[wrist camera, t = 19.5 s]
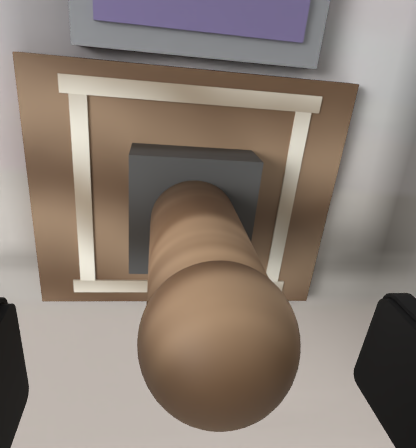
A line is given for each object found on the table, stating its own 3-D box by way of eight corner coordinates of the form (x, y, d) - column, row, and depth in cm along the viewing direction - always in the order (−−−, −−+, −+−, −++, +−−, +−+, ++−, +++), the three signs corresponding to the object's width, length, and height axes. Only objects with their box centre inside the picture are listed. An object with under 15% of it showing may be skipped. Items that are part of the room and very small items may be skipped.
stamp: (132, 142, 18) (86, 298, 6) (251, 150, 19) (397, 298, 7) (131, 250, 20) (98, 502, 9) (237, 252, 21) (329, 482, 10)
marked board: (18, 51, 16) (11, 51, 15) (351, 83, 19) (360, 84, 18) (46, 293, 21) (41, 302, 21) (301, 293, 24) (306, 301, 23)
